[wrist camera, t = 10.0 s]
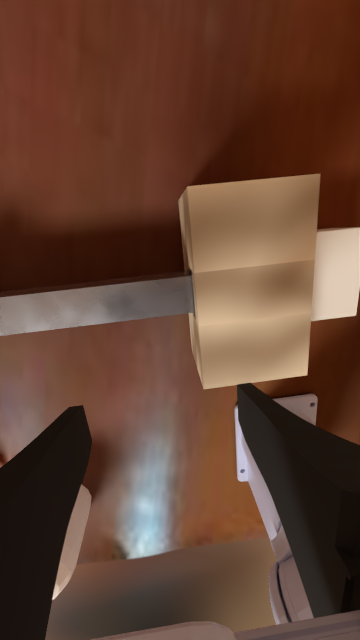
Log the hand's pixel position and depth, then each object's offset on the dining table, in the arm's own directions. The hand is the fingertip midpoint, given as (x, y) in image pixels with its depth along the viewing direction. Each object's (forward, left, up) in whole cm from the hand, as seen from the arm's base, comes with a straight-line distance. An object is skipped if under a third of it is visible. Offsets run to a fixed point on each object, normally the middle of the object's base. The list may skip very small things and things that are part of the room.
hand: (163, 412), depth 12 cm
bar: (+4, +3, -10) cm, 11 cm away
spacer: (+4, -12, -10) cm, 16 cm away
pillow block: (+4, -6, -10) cm, 13 cm away
